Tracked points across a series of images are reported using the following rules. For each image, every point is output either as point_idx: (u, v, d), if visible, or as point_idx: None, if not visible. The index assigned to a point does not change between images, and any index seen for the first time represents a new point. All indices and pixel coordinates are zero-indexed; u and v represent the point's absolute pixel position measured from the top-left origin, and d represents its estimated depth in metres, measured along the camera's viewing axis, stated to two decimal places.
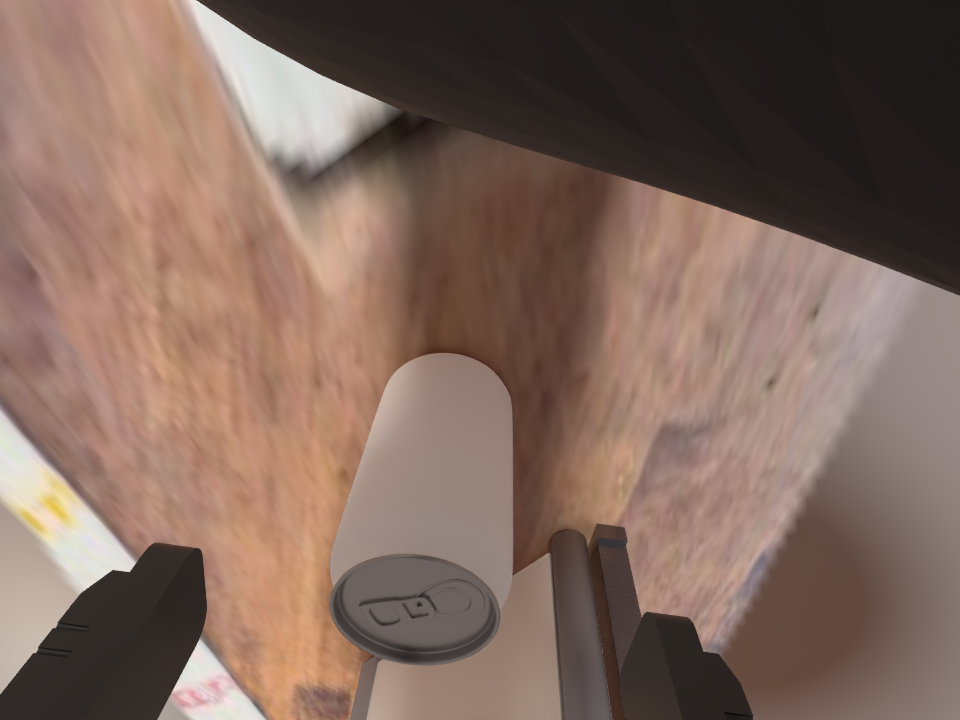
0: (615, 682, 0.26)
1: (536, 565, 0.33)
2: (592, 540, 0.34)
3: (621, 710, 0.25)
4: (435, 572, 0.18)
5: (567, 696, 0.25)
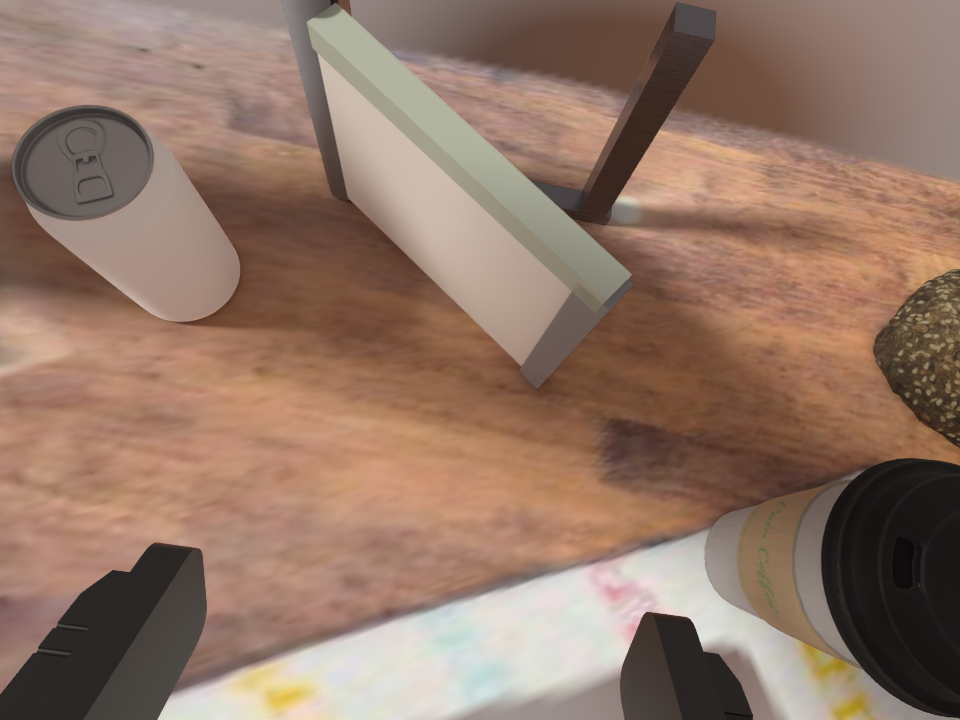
0: None
1: (357, 204, 0.37)
2: None
3: None
4: (48, 147, 0.25)
5: (314, 102, 0.29)
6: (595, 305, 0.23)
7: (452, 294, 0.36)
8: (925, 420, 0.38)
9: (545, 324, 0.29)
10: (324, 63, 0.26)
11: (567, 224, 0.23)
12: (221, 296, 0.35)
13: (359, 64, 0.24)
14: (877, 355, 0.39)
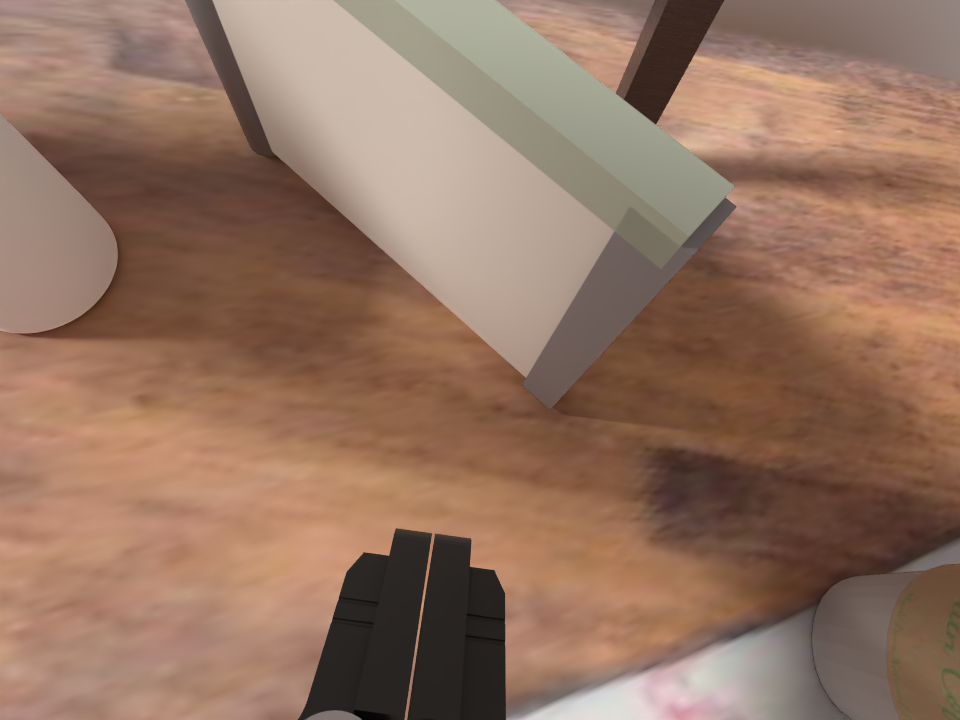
0: None
1: (284, 159, 0.26)
2: None
3: None
4: None
5: None
6: (663, 252, 0.12)
7: (421, 278, 0.25)
8: None
9: (562, 307, 0.17)
10: None
11: (602, 98, 0.12)
12: (82, 293, 0.24)
13: None
14: None
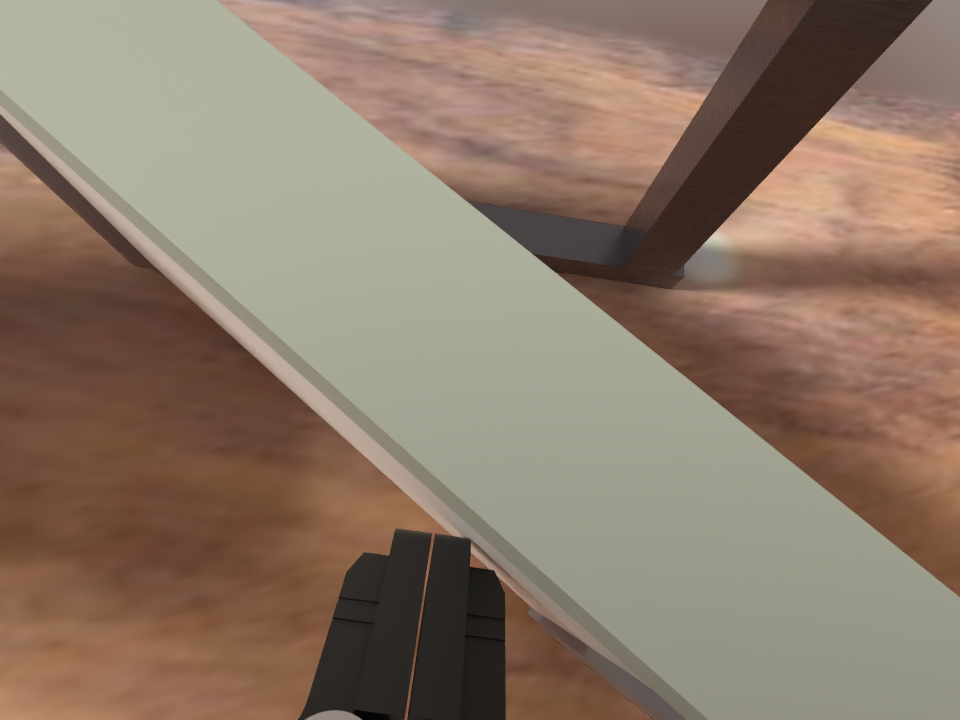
0: None
1: (168, 278, 0.18)
2: None
3: None
4: None
5: None
6: None
7: (371, 462, 0.17)
8: None
9: (605, 655, 0.09)
10: None
11: (791, 519, 0.04)
12: None
13: None
14: None
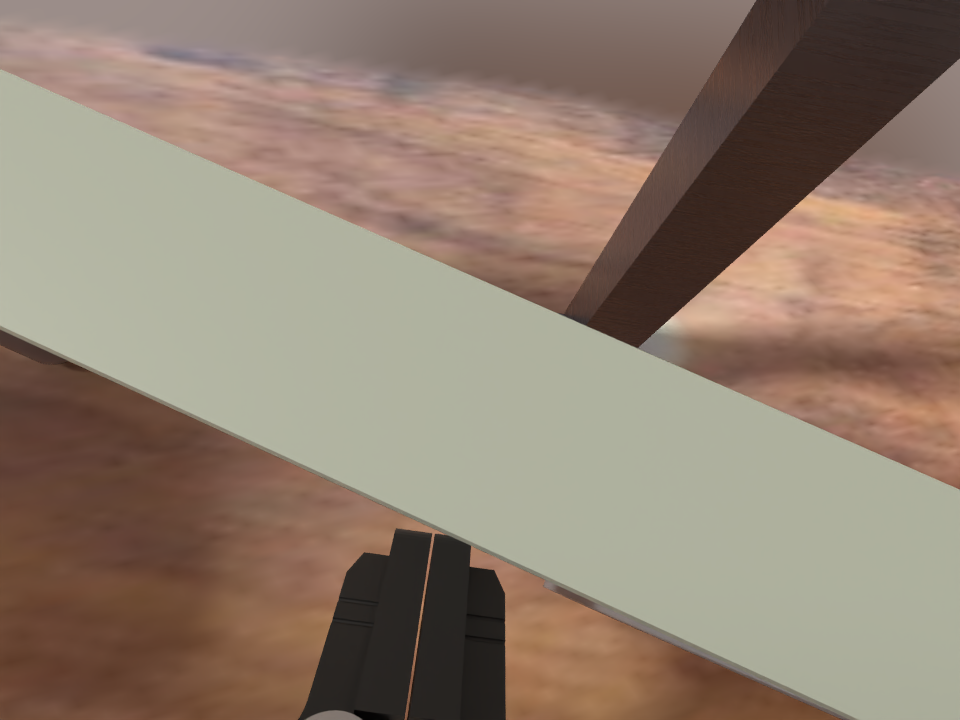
0: None
1: None
2: None
3: None
4: None
5: None
6: None
7: None
8: None
9: None
10: None
11: (765, 452, 0.04)
12: None
13: None
14: None
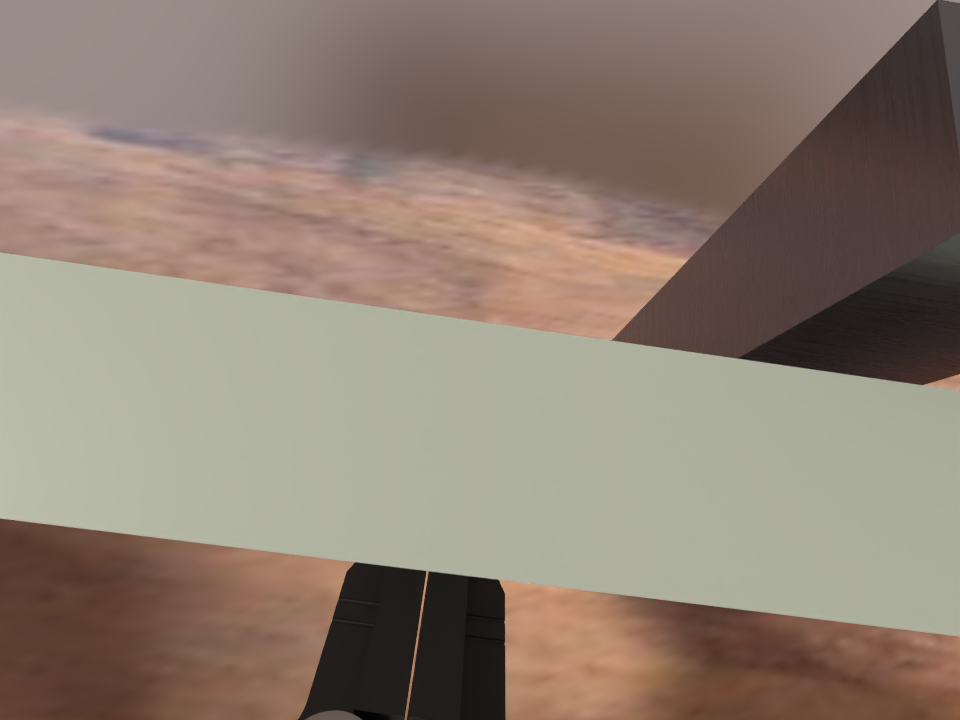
0: None
1: None
2: None
3: None
4: None
5: None
6: None
7: None
8: None
9: None
10: None
11: (726, 401, 0.04)
12: None
13: None
14: None
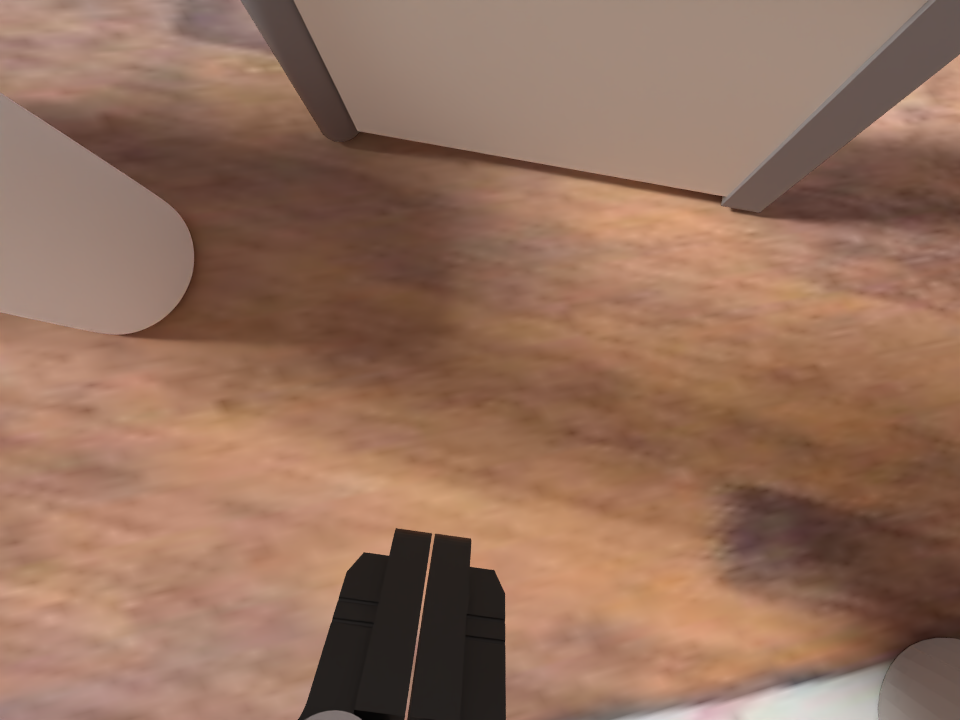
0: None
1: (377, 130, 0.24)
2: None
3: None
4: None
5: None
6: None
7: (581, 162, 0.24)
8: None
9: (822, 95, 0.17)
10: None
11: None
12: (163, 301, 0.24)
13: None
14: None
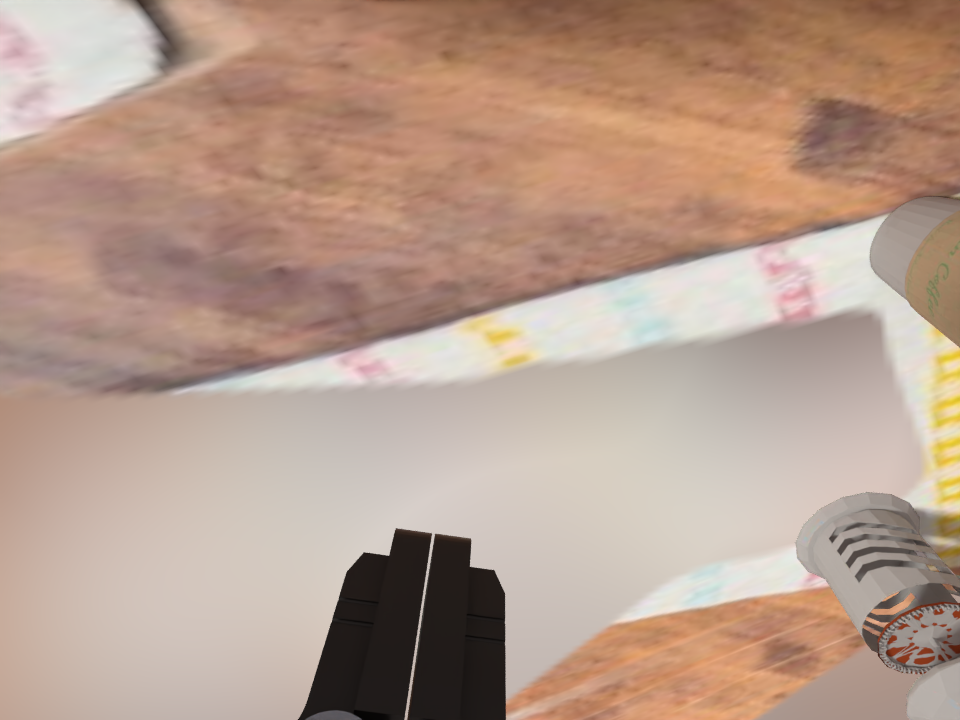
0: None
1: None
2: None
3: None
4: None
5: None
6: None
7: None
8: None
9: None
10: None
11: None
12: None
13: None
14: None
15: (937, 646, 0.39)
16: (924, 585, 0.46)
